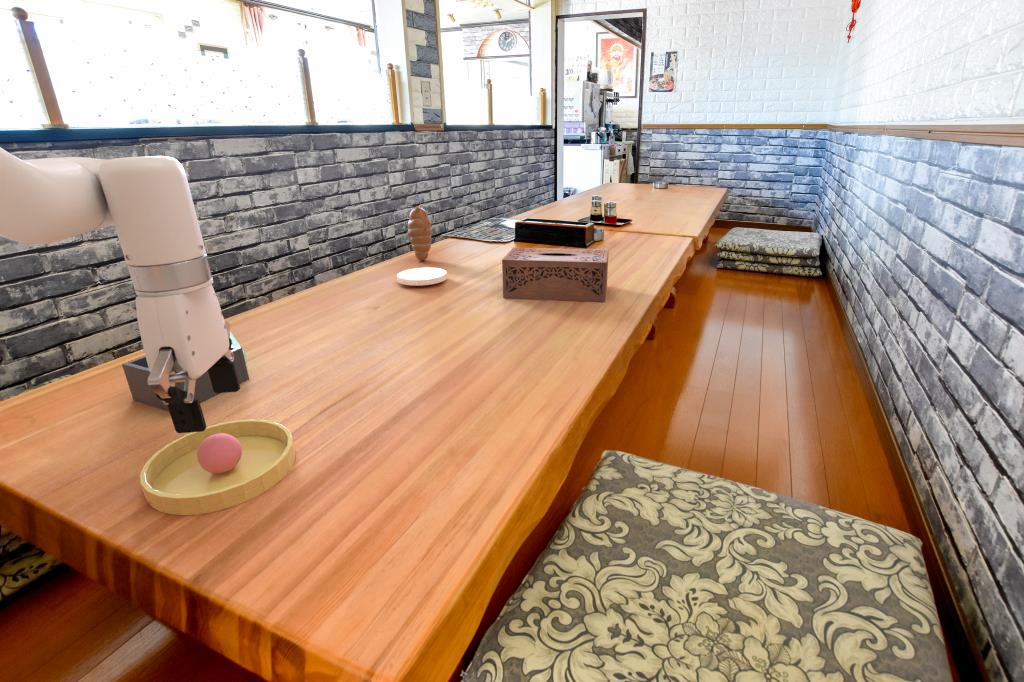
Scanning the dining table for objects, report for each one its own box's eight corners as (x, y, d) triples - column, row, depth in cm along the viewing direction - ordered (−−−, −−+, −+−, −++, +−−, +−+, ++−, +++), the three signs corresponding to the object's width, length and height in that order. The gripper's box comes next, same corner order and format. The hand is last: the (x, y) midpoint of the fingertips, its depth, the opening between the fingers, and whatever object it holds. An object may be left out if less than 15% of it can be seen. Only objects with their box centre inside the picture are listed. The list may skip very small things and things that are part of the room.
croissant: (430, 264, 171) (426, 207, 165) (407, 263, 172) (401, 207, 165) (437, 257, 180) (433, 203, 173) (414, 257, 180) (409, 203, 174)
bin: (182, 415, 83) (171, 377, 80) (133, 400, 88) (121, 364, 85) (250, 382, 93) (242, 347, 91) (202, 370, 98) (193, 337, 96)
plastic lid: (406, 291, 143) (405, 282, 142) (391, 280, 154) (391, 271, 153) (454, 284, 149) (454, 275, 148) (437, 273, 160) (436, 265, 159)
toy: (220, 485, 65) (210, 451, 63) (193, 475, 67) (183, 442, 65) (254, 463, 69) (246, 430, 67) (228, 454, 71) (219, 422, 69)
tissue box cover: (503, 297, 136) (502, 259, 132) (514, 282, 149) (513, 247, 145) (604, 302, 131) (606, 262, 127) (606, 285, 144) (608, 249, 140)
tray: (210, 536, 58) (203, 514, 57) (115, 495, 65) (108, 475, 64) (324, 453, 72) (320, 434, 71) (236, 427, 79) (232, 409, 78)
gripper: (176, 258, 66) (210, 380, 73) (84, 300, 50) (139, 452, 57) (238, 255, 67) (266, 377, 73) (166, 295, 51) (211, 447, 57)
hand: (211, 409), depth 65 cm, fingers open, 9 cm apart
